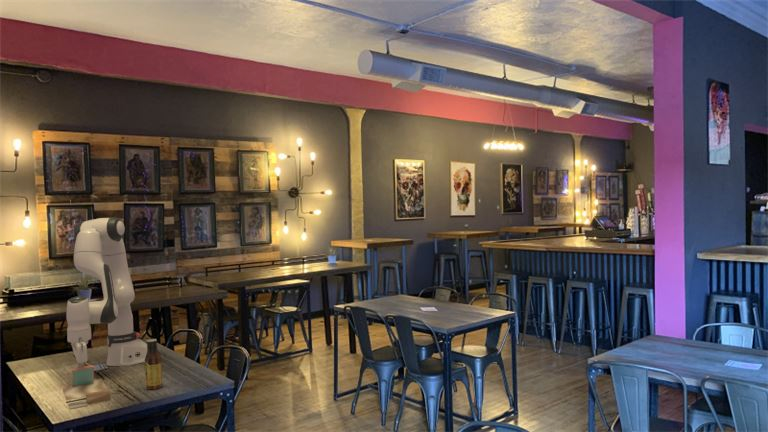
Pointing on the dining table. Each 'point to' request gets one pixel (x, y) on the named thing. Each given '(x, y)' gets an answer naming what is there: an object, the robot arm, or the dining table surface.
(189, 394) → the dining table surface
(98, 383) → the board
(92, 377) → the tile
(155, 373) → the sauce bottle
